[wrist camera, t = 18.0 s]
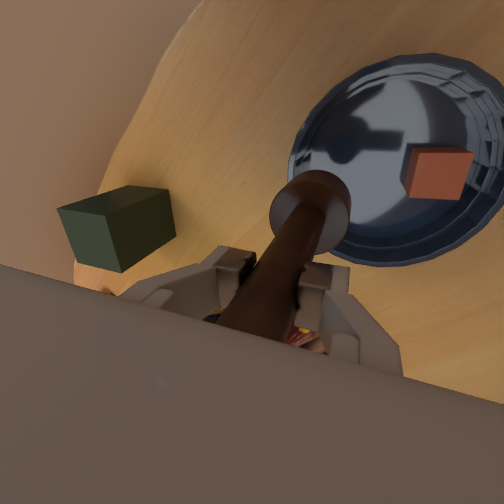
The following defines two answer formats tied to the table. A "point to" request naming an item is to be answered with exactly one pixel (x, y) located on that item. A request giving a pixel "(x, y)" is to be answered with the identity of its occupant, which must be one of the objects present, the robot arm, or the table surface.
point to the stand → (118, 226)
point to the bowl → (407, 154)
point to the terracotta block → (437, 172)
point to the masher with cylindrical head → (290, 253)
